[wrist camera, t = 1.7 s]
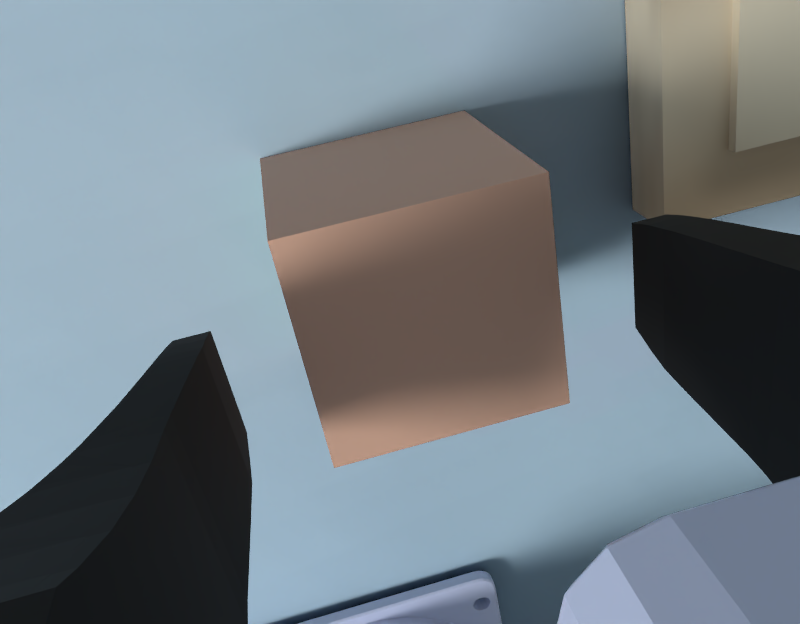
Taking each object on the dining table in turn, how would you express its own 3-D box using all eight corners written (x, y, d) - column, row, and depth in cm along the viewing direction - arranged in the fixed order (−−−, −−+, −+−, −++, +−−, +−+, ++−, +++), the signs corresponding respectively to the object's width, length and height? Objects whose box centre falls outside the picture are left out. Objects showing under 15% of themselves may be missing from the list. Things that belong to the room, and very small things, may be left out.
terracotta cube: (489, 292, 18) (570, 403, 14) (311, 338, 18) (334, 468, 13) (463, 109, 16) (549, 172, 11) (260, 157, 15) (268, 241, 11)
